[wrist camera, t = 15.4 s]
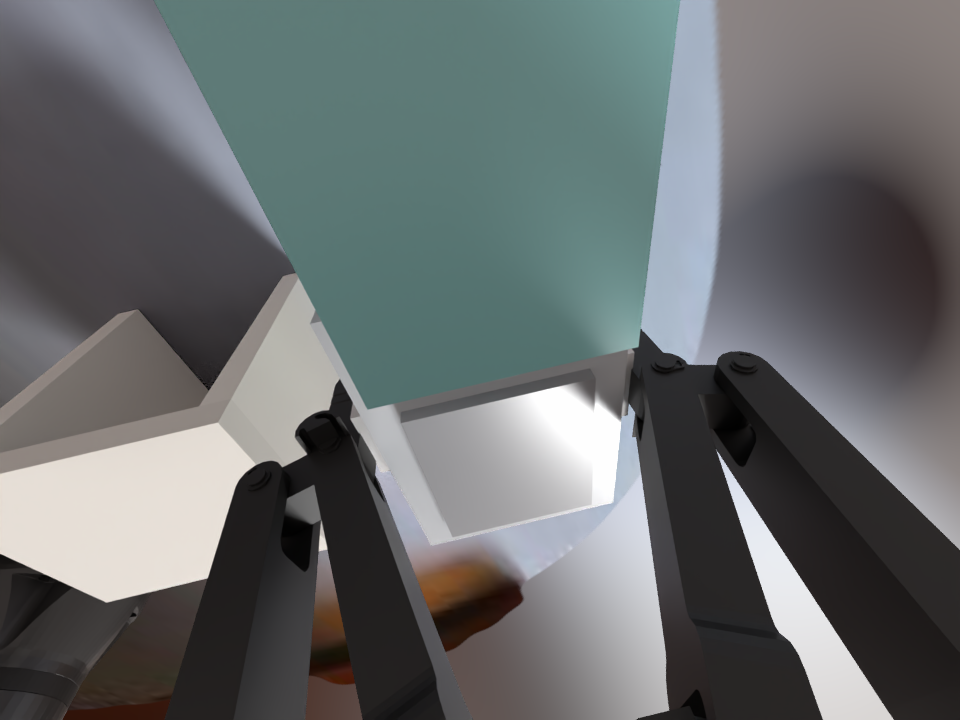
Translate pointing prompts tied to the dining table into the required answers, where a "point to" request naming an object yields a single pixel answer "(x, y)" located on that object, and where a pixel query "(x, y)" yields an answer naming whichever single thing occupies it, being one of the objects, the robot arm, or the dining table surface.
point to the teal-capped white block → (458, 221)
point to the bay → (151, 448)
